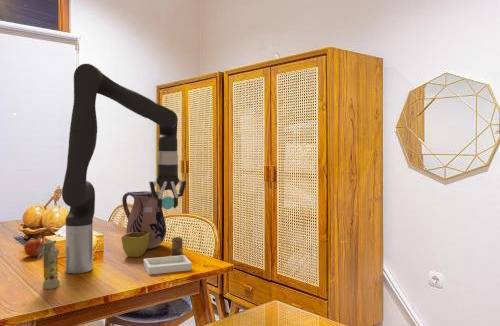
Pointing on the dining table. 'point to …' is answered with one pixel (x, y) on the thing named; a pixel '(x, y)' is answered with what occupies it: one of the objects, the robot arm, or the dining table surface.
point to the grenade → (49, 264)
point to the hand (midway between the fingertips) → (167, 207)
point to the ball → (167, 202)
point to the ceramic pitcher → (145, 217)
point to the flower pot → (135, 243)
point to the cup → (177, 246)
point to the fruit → (33, 247)
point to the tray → (167, 264)
